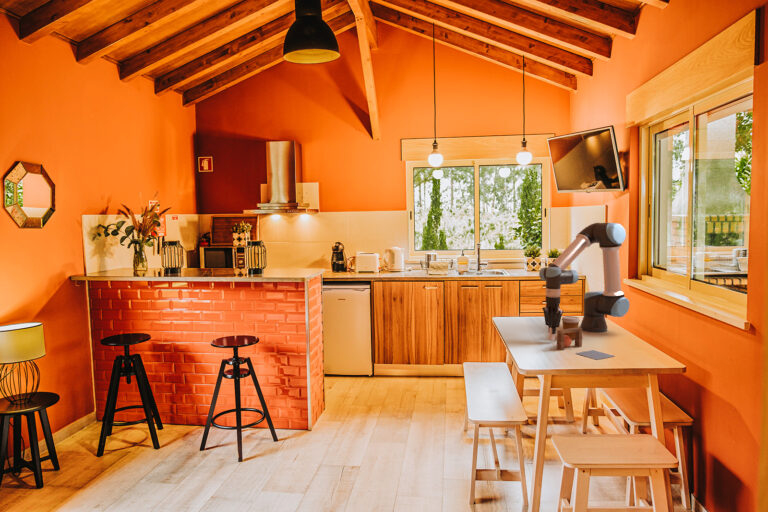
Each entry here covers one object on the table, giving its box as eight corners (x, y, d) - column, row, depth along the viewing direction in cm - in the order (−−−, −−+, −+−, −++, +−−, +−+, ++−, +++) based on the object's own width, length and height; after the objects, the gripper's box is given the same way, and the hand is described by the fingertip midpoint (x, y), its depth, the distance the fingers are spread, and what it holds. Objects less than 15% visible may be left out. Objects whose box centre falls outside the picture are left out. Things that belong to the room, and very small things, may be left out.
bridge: (556, 348, 266) (557, 330, 266) (577, 345, 274) (577, 327, 273) (561, 350, 264) (561, 331, 263) (581, 346, 271) (582, 328, 270)
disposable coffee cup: (580, 341, 283) (581, 319, 282) (562, 340, 285) (562, 318, 284) (577, 337, 292) (578, 316, 291) (560, 336, 294) (560, 315, 293)
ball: (574, 346, 270) (564, 347, 274) (573, 334, 271) (562, 335, 276) (568, 346, 266) (558, 347, 271) (567, 334, 268) (556, 335, 272)
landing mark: (593, 350, 263) (593, 350, 263) (615, 356, 252) (615, 356, 252) (575, 353, 257) (575, 353, 257) (596, 359, 246) (596, 359, 246)
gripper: (538, 295, 281) (538, 337, 283) (557, 298, 270) (556, 342, 272) (548, 294, 285) (548, 336, 287) (567, 297, 273) (566, 341, 275)
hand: (552, 339), depth 279 cm, fingers closed
